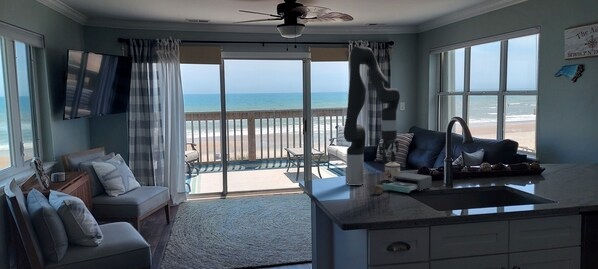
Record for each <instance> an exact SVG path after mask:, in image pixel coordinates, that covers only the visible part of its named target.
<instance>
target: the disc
mask: <svg viewBox="0 0 598 269" xmlns="http://www.w3.org/2000/svg"><path fill="white" fill-rule="evenodd" d="M395 185H398V186H405V187H408V184H407V183H395Z"/></svg>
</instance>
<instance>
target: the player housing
mask: <svg viewBox="0 0 598 269" xmlns="http://www.w3.org/2000/svg"><path fill="white" fill-rule="evenodd" d="M393 182H404V183H411V184H418V188H417V189H414V190H413V191H416V190H419V191H418V192H422V191H424V190H423V189H425V190H428V189H430V187H431V188H433V187H432V175H425V174H418V173H417V174H416V173H410V172H409V173H408V172H402V173H400V174H398V175H395V176H393V181H392V183H393ZM427 188H428V189H427ZM421 190H422V191H421Z"/></svg>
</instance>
